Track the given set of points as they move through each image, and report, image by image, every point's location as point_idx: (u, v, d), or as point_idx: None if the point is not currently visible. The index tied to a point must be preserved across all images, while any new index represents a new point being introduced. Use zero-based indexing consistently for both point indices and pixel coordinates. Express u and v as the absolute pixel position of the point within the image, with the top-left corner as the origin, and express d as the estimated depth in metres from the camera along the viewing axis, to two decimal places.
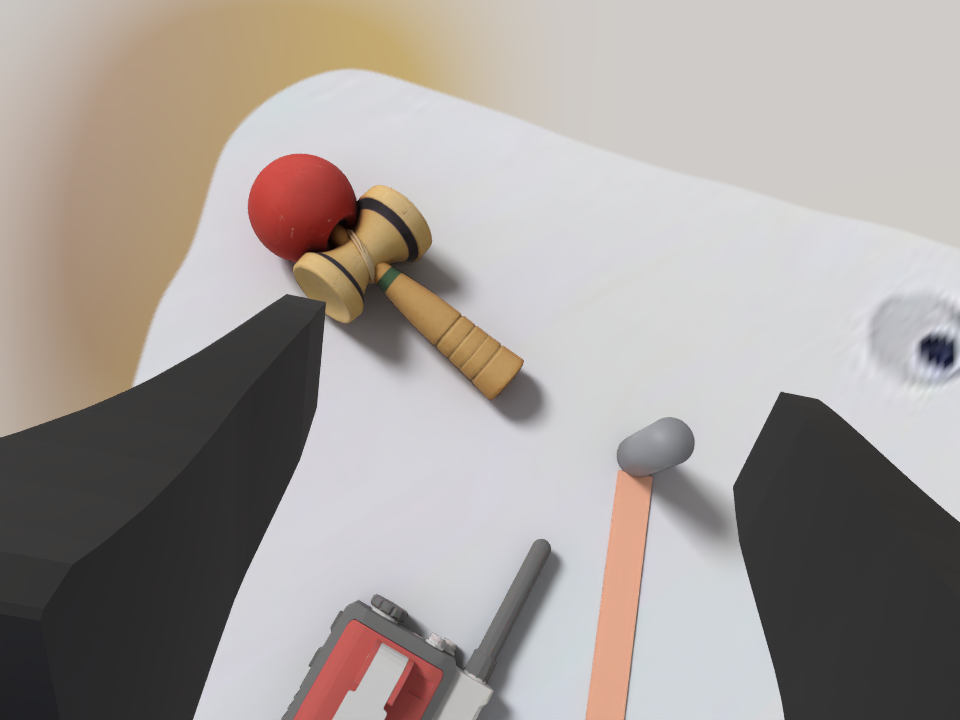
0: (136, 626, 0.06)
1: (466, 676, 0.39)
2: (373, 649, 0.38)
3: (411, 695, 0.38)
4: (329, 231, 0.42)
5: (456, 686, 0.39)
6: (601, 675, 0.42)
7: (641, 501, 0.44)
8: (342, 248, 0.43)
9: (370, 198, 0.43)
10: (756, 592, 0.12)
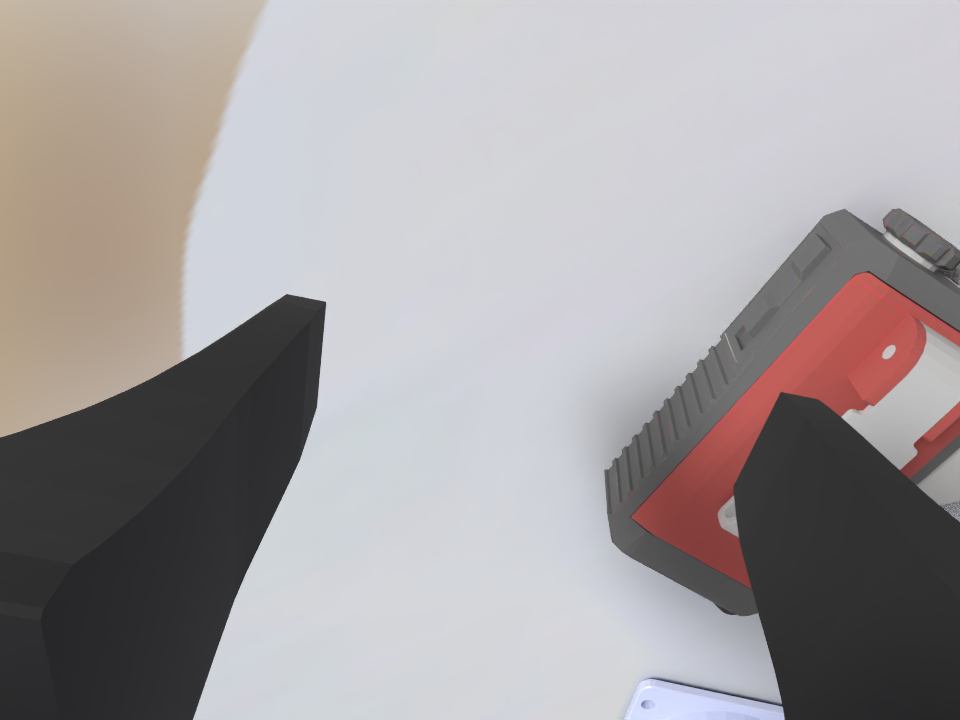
0: (135, 626, 0.06)
1: None
2: (916, 346, 0.18)
3: None
4: None
5: None
6: None
7: None
8: None
9: None
10: (756, 592, 0.12)
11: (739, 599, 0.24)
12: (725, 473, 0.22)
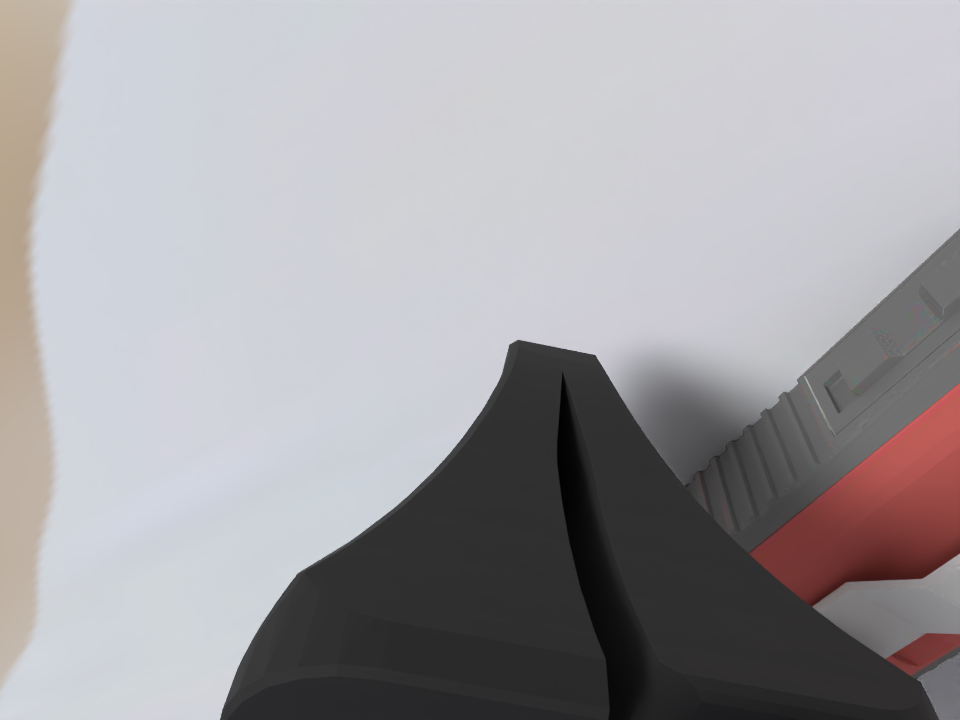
0: None
1: None
2: None
3: None
4: None
5: None
6: None
7: None
8: None
9: None
10: None
11: None
12: (802, 578, 0.16)
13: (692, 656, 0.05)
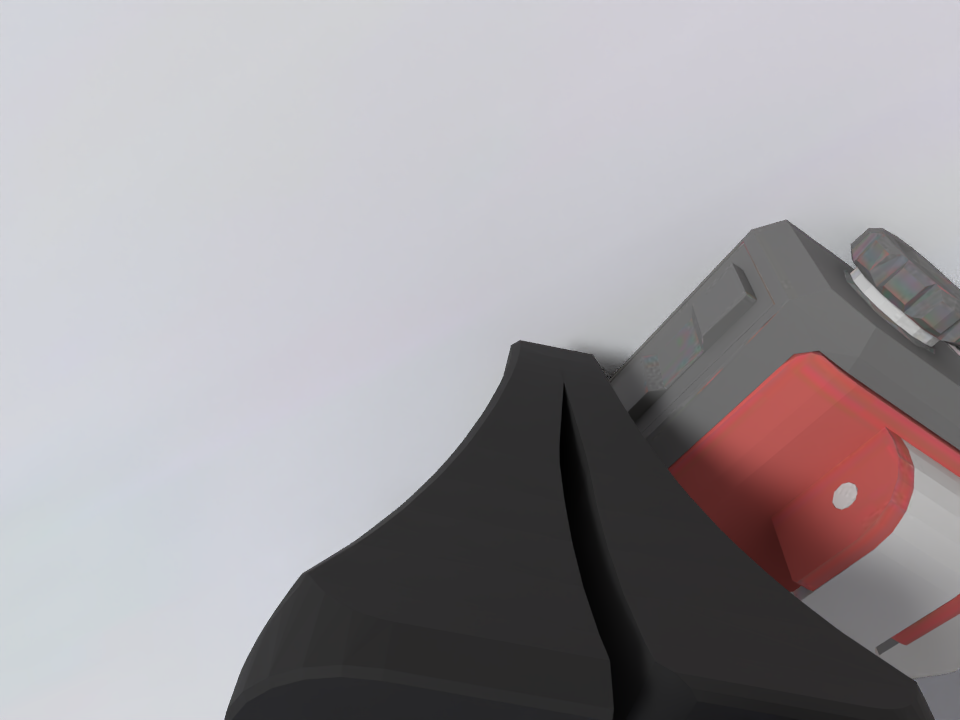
0: None
1: None
2: (895, 499, 0.10)
3: None
4: None
5: None
6: None
7: None
8: None
9: None
10: None
11: None
12: None
13: (686, 655, 0.05)
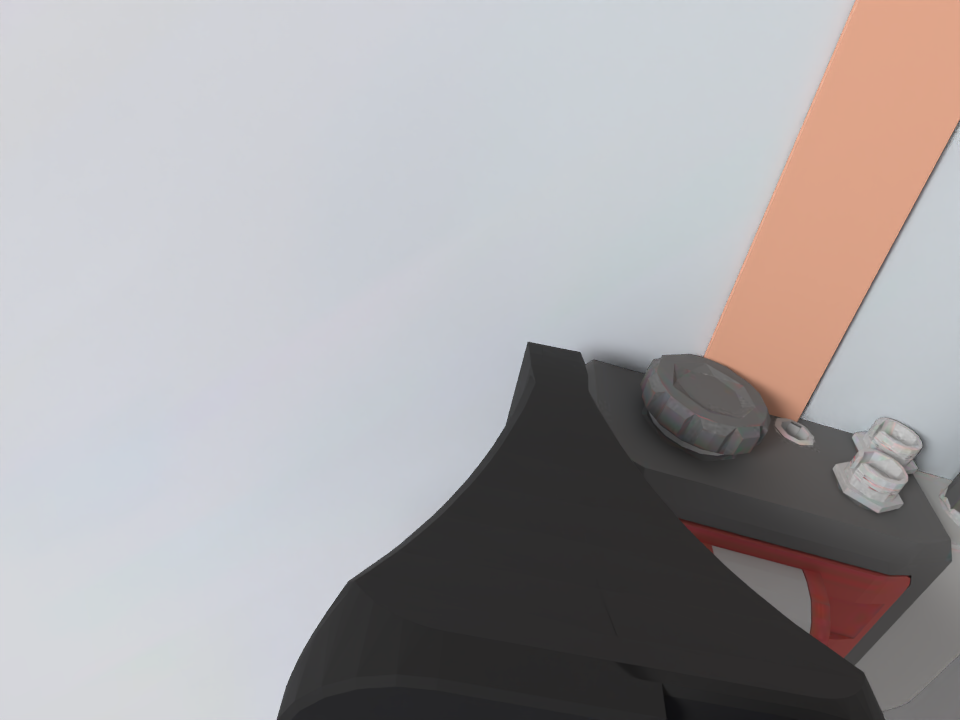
0: None
1: None
2: None
3: None
4: None
5: (940, 576, 0.13)
6: (768, 291, 0.13)
7: None
8: None
9: None
10: None
11: None
12: None
13: (630, 646, 0.05)
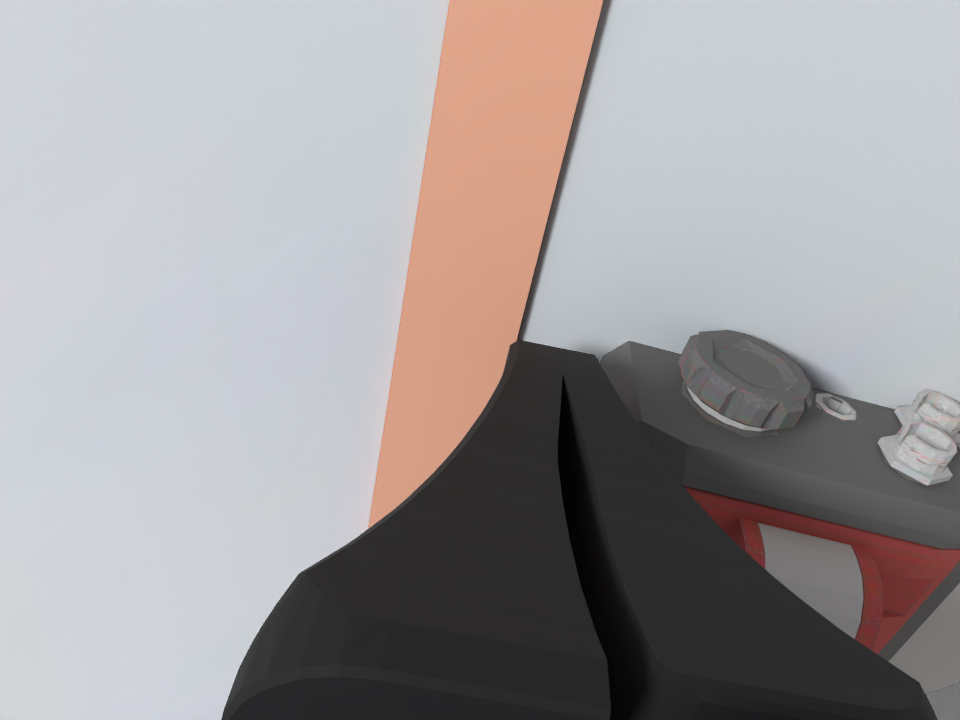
0: None
1: None
2: None
3: None
4: None
5: None
6: (452, 225, 0.12)
7: None
8: None
9: None
10: None
11: None
12: None
13: (690, 655, 0.05)
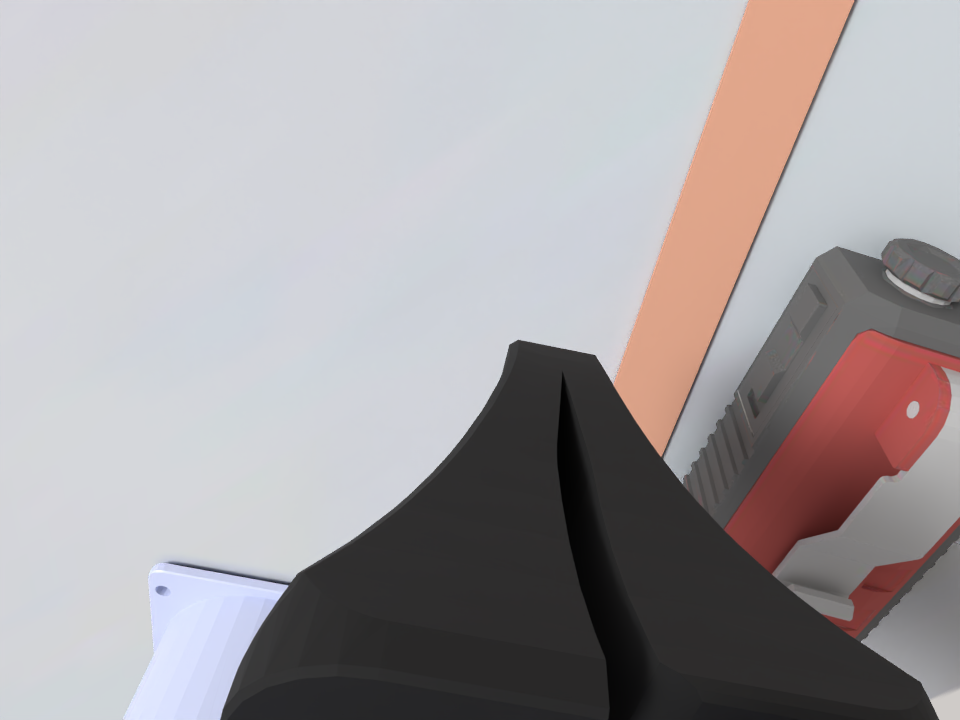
0: None
1: None
2: (940, 405, 0.16)
3: None
4: None
5: None
6: (719, 158, 0.18)
7: None
8: None
9: None
10: None
11: None
12: (766, 543, 0.20)
13: (690, 656, 0.05)
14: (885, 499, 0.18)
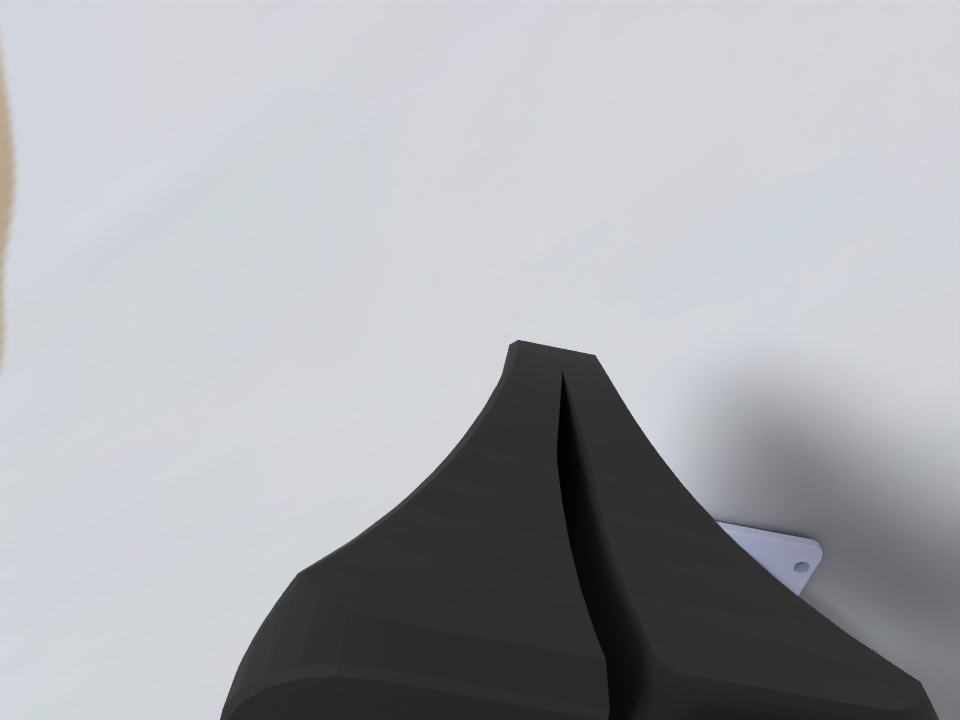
0: None
1: None
2: None
3: None
4: None
5: None
6: None
7: None
8: None
9: None
10: None
11: None
12: None
13: (690, 656, 0.05)
14: None
